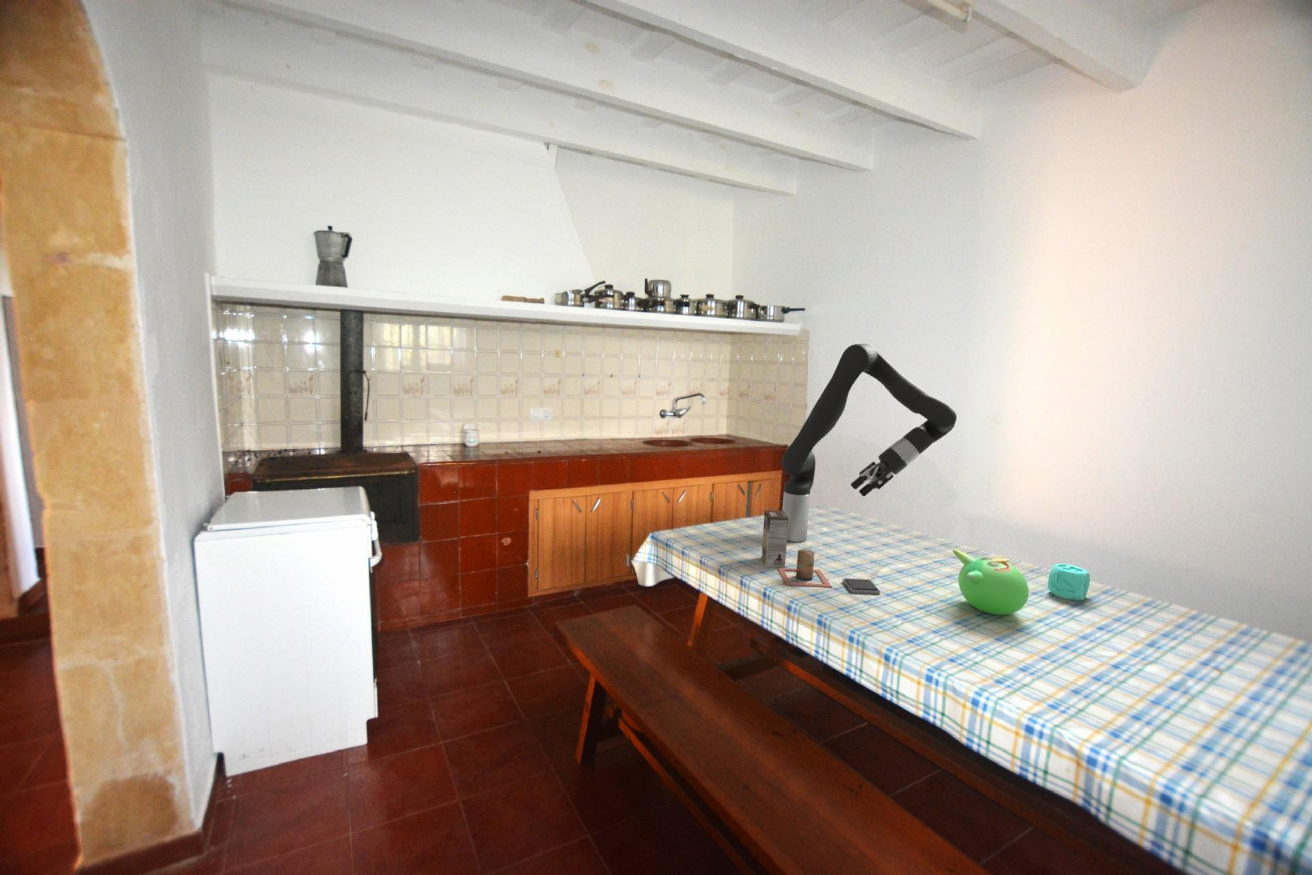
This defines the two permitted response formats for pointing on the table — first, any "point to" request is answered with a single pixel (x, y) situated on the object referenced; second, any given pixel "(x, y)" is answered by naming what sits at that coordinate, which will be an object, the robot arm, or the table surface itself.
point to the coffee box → (774, 538)
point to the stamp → (805, 565)
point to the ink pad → (861, 586)
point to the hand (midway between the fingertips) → (856, 490)
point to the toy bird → (992, 584)
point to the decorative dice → (1069, 582)
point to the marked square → (787, 582)
